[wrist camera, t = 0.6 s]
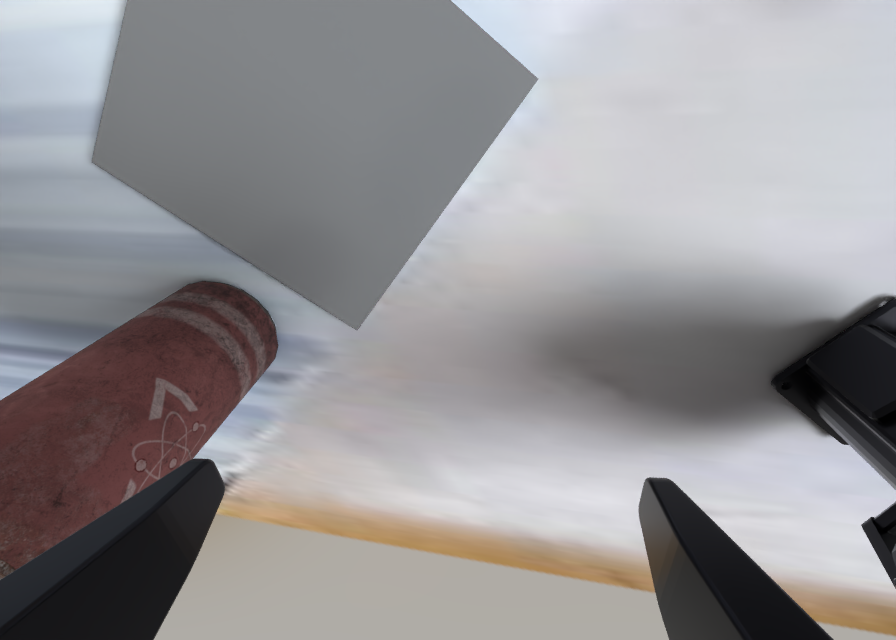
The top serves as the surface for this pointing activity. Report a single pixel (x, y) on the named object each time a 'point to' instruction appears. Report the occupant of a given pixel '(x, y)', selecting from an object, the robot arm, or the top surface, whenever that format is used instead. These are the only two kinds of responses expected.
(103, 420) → the can
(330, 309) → the plate
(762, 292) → the top surface
